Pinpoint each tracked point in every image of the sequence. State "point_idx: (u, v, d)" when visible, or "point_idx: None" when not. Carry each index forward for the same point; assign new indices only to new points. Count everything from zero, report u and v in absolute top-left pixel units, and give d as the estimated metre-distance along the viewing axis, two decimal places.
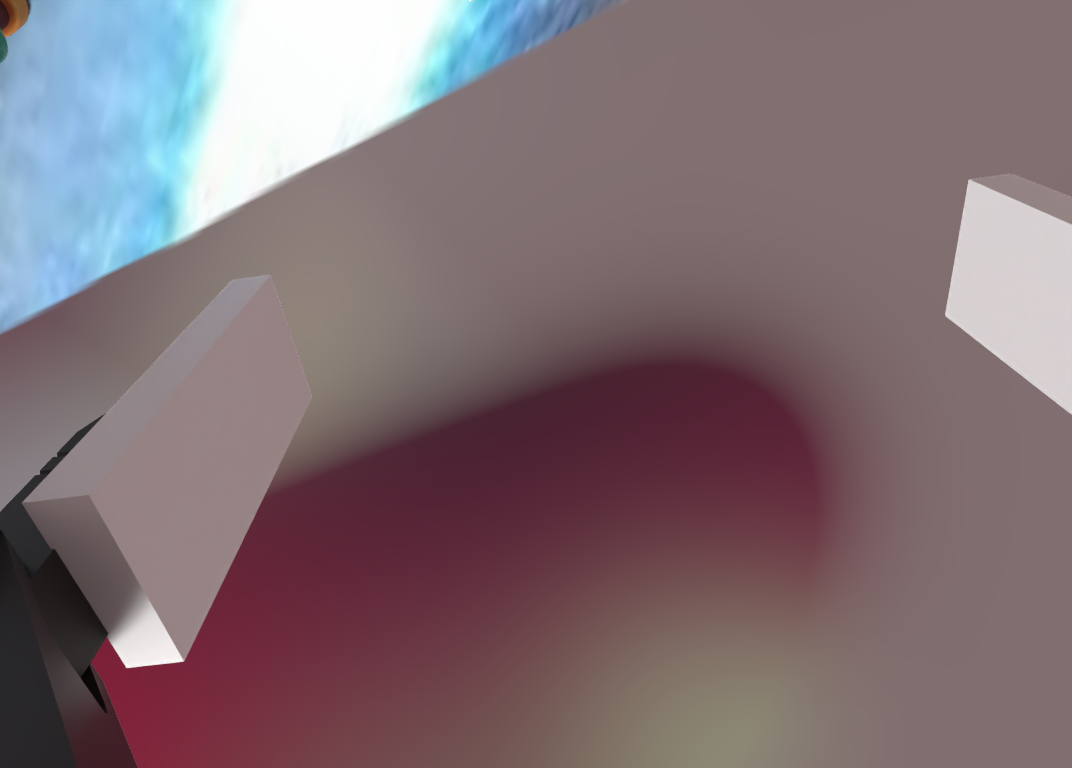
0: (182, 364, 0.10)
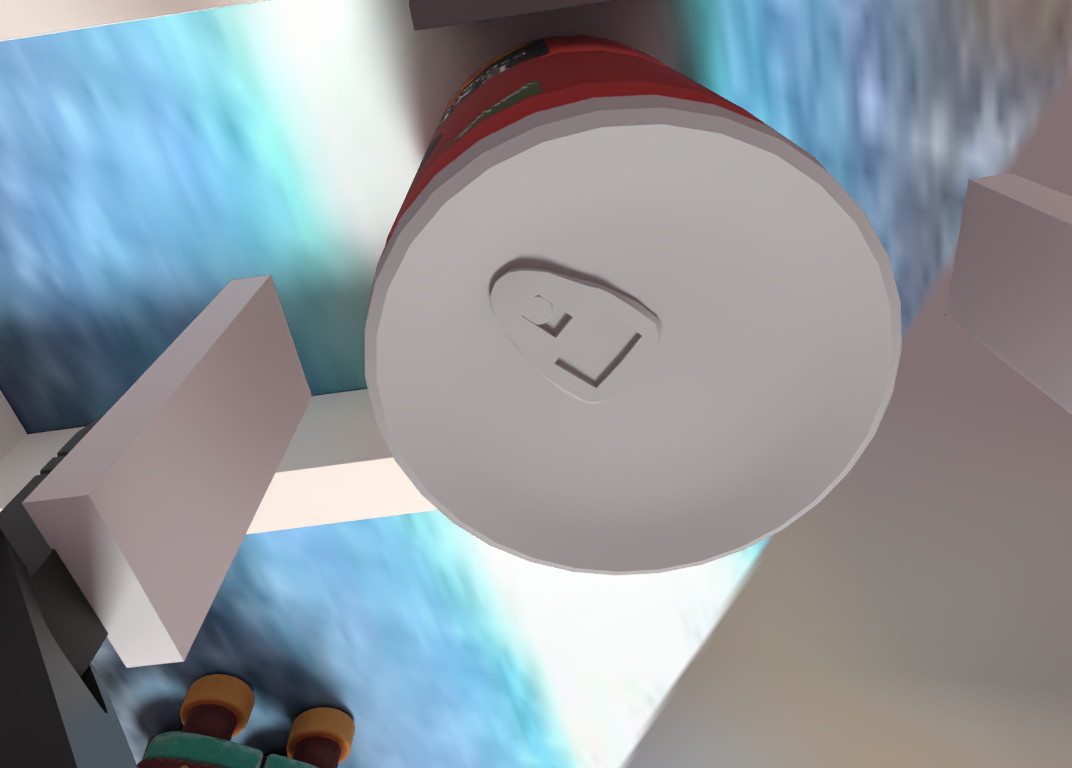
0: (182, 364, 0.10)
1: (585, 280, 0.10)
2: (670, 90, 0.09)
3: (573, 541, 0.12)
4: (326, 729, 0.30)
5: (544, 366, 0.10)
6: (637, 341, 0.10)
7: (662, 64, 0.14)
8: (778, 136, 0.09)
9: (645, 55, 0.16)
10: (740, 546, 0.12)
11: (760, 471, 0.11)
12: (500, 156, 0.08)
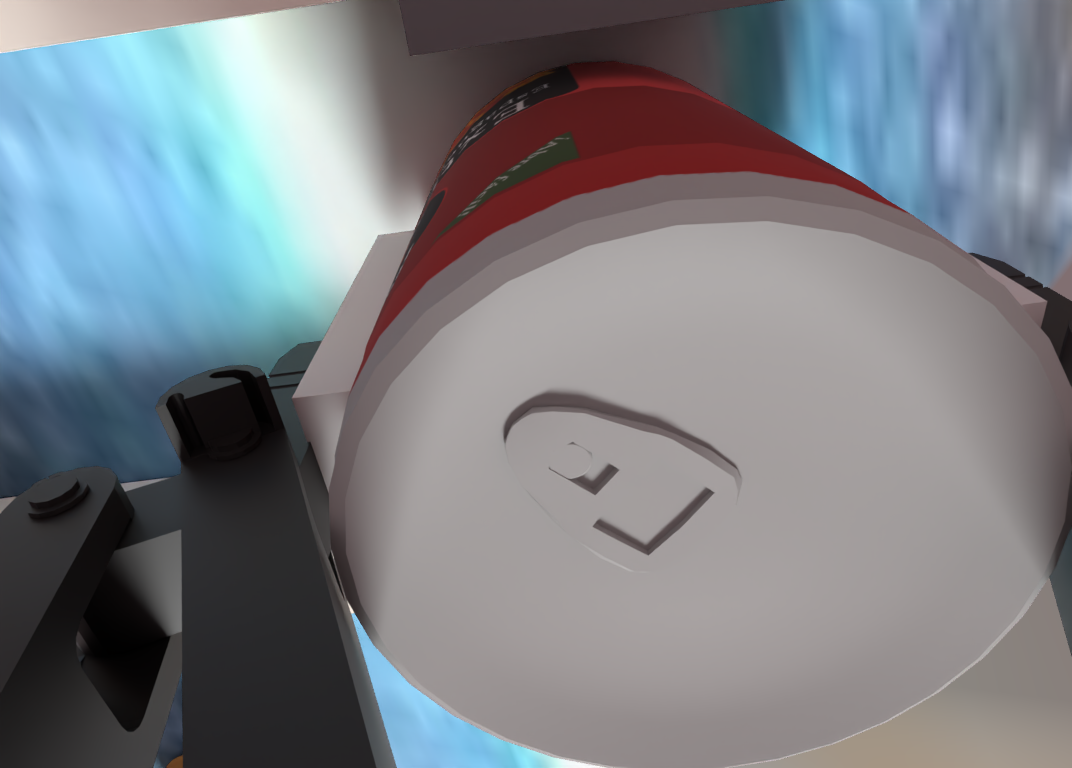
0: (373, 298, 0.11)
1: (638, 423, 0.07)
2: (763, 159, 0.07)
3: (610, 733, 0.09)
4: None
5: (578, 529, 0.07)
6: (708, 499, 0.07)
7: (717, 101, 0.12)
8: (927, 231, 0.06)
9: (692, 87, 0.13)
10: (831, 743, 0.09)
11: (860, 652, 0.09)
12: (522, 265, 0.06)
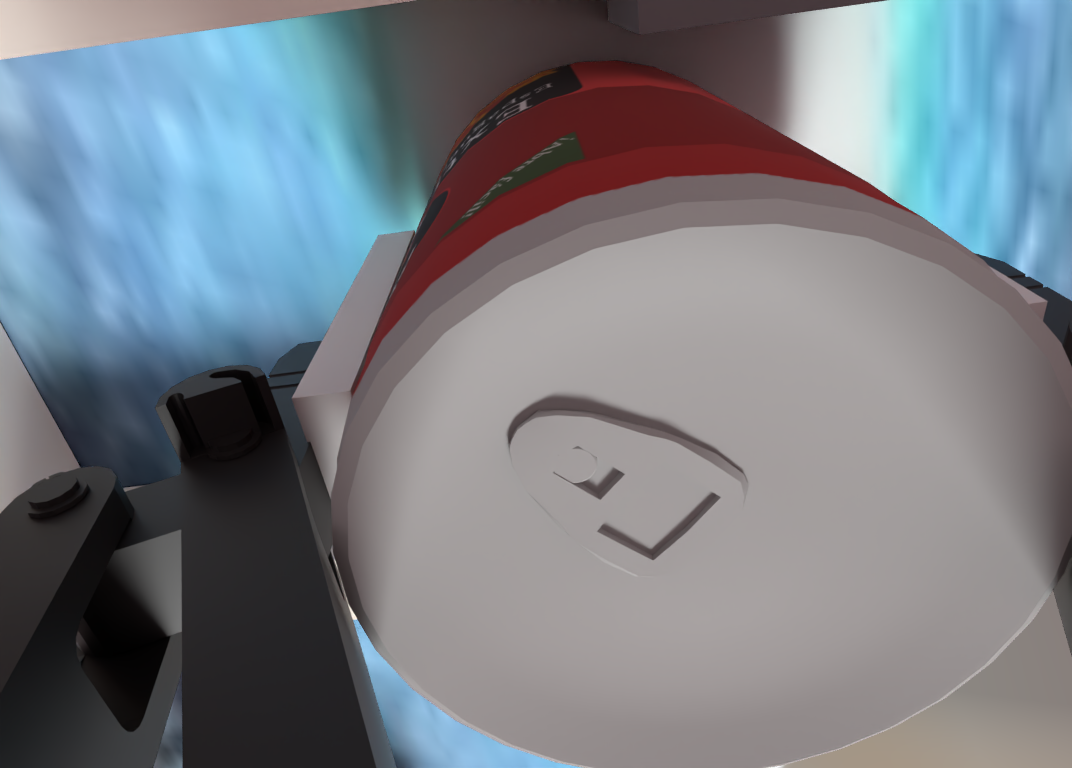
0: (373, 298, 0.11)
1: (644, 426, 0.07)
2: (771, 160, 0.07)
3: (614, 738, 0.09)
4: None
5: (582, 534, 0.07)
6: (714, 504, 0.07)
7: (721, 101, 0.12)
8: (938, 233, 0.06)
9: (696, 87, 0.13)
10: (836, 748, 0.09)
11: (867, 657, 0.08)
12: (528, 268, 0.06)
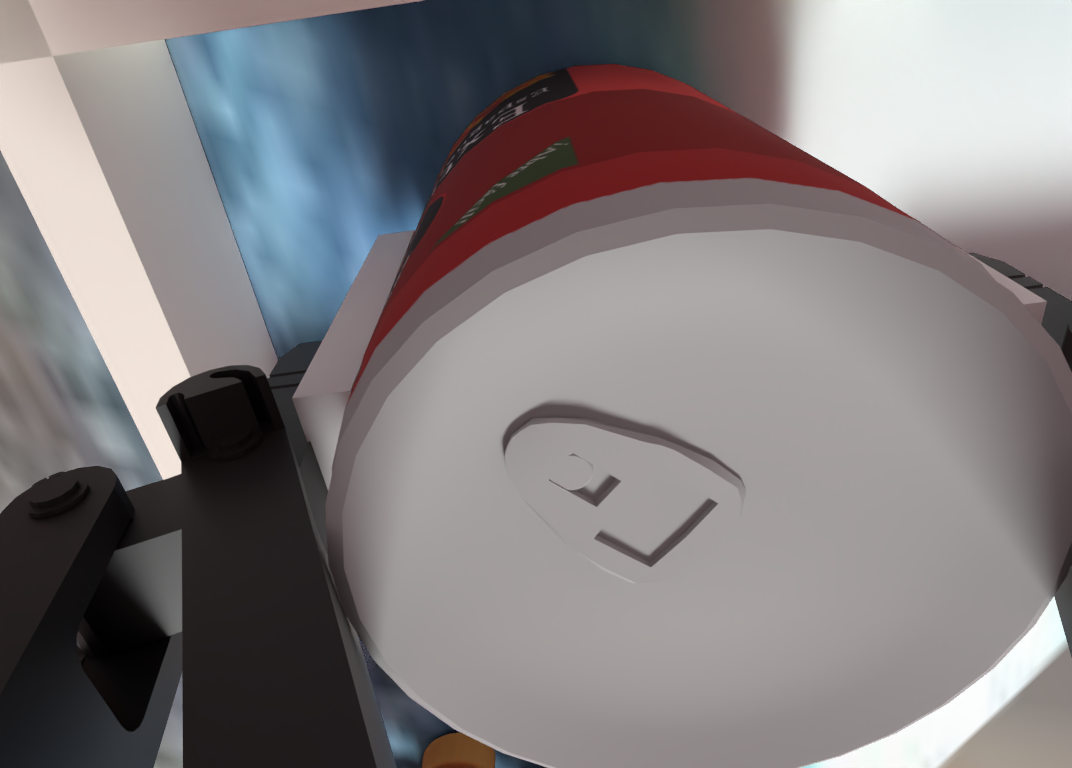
0: (373, 298, 0.11)
1: (639, 433, 0.07)
2: (765, 164, 0.07)
3: (614, 746, 0.09)
4: None
5: (579, 541, 0.07)
6: (712, 511, 0.07)
7: (718, 103, 0.12)
8: (934, 237, 0.06)
9: (693, 90, 0.13)
10: (838, 755, 0.09)
11: (868, 662, 0.08)
12: (519, 276, 0.06)
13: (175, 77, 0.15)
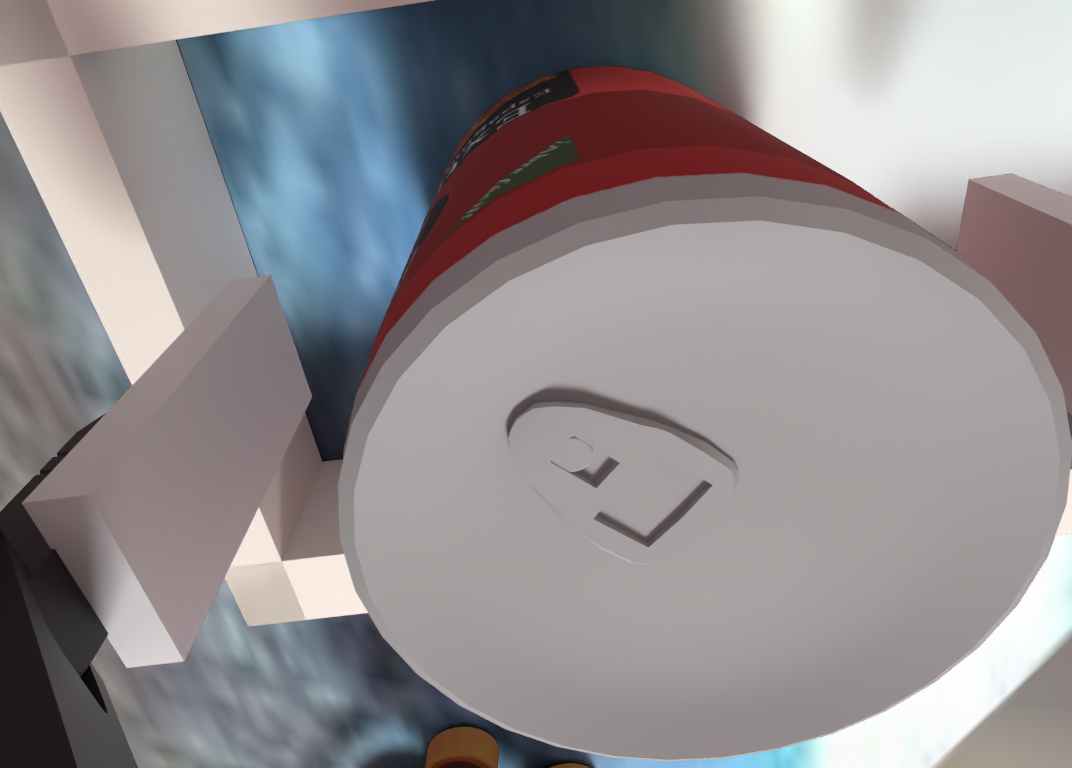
0: (182, 364, 0.10)
1: (637, 416, 0.07)
2: (757, 160, 0.07)
3: (613, 723, 0.09)
4: None
5: (580, 522, 0.08)
6: (706, 492, 0.07)
7: (716, 104, 0.12)
8: (916, 229, 0.06)
9: (691, 91, 0.13)
10: (829, 732, 0.09)
11: (859, 641, 0.09)
12: (524, 264, 0.06)
13: (186, 77, 0.15)
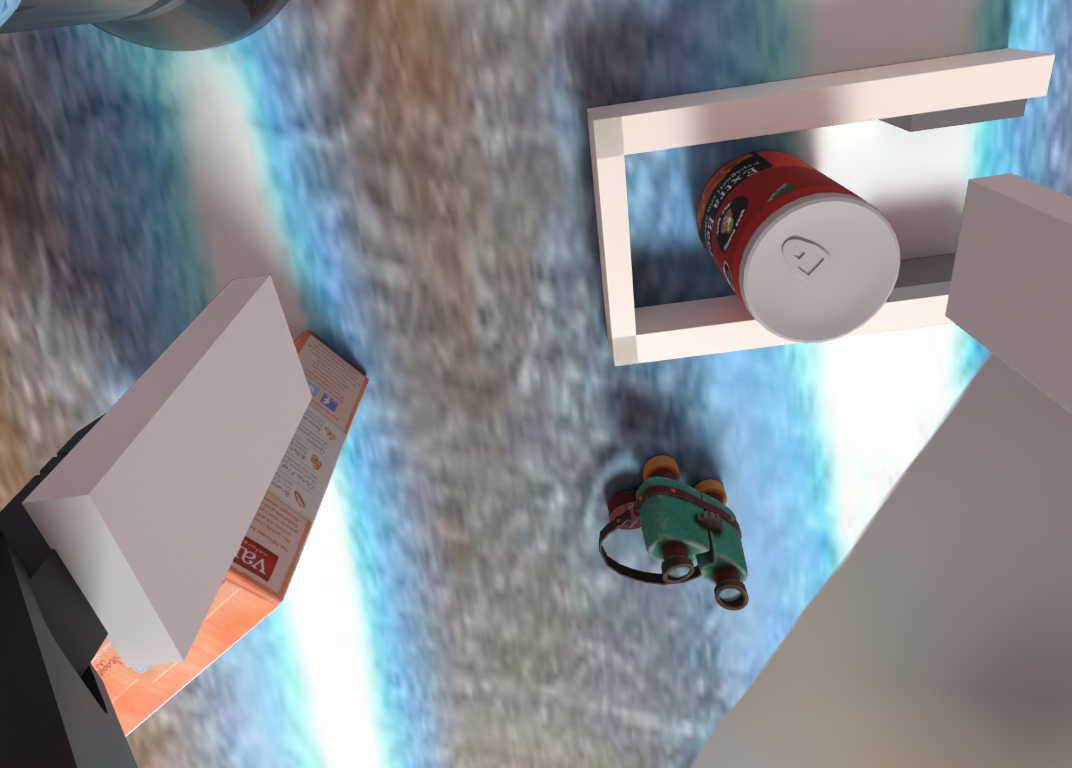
0: (182, 364, 0.10)
1: (810, 242, 0.34)
2: (835, 189, 0.34)
3: (793, 329, 0.36)
4: (718, 488, 0.54)
5: (794, 268, 0.35)
6: (823, 260, 0.35)
7: (812, 168, 0.39)
8: (866, 203, 0.33)
9: (801, 161, 0.40)
10: (848, 331, 0.36)
11: (855, 305, 0.36)
12: (795, 209, 0.33)
13: None
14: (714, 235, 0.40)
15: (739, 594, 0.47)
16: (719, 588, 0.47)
